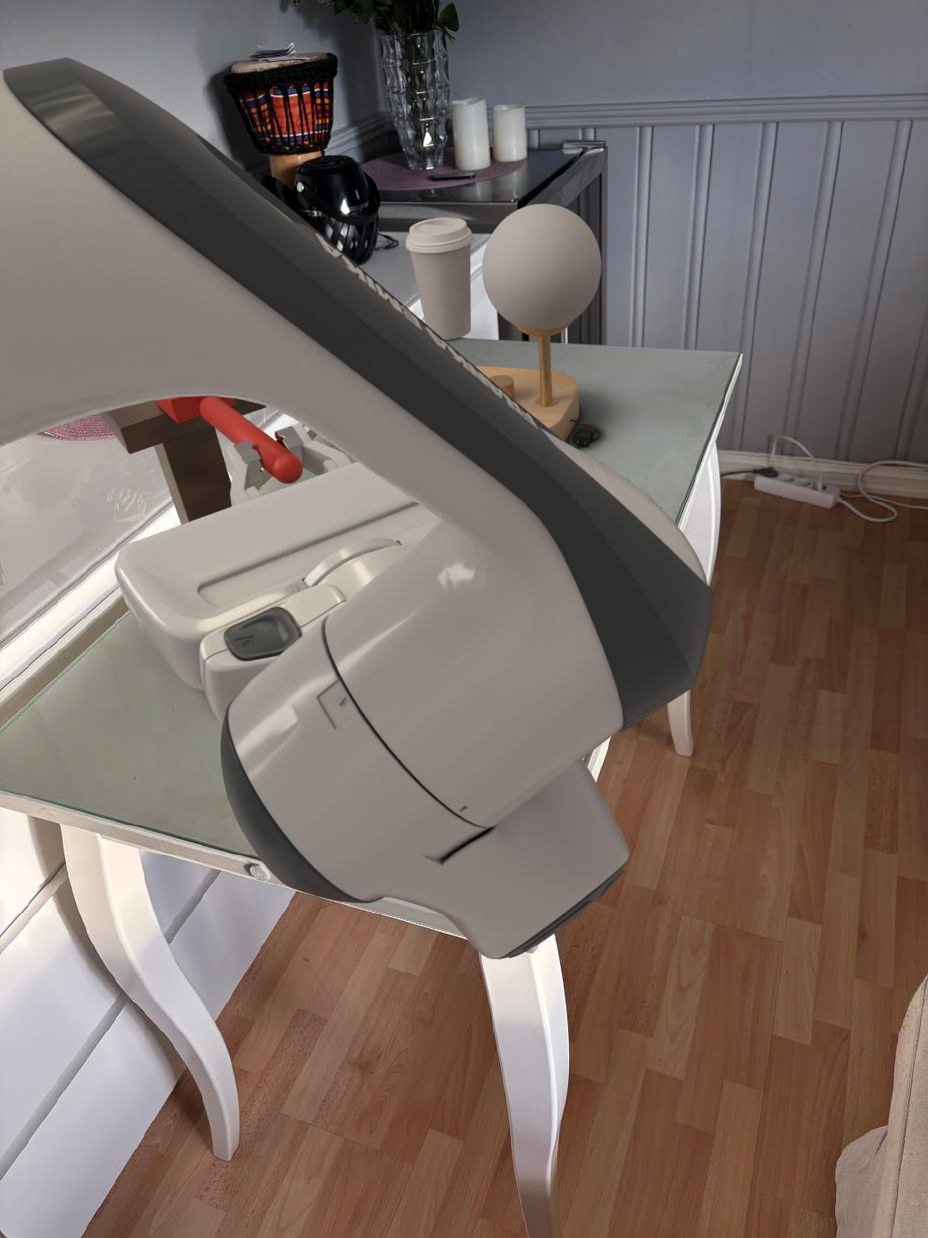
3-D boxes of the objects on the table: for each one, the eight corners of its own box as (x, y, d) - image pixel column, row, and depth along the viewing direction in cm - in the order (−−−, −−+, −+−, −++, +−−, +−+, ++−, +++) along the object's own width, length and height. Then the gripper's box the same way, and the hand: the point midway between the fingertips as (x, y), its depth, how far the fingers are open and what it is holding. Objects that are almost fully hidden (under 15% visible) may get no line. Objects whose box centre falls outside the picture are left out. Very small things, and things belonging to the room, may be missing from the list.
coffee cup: (493, 331, 133) (485, 224, 124) (437, 349, 130) (424, 241, 121) (460, 313, 140) (450, 211, 131) (406, 331, 137) (391, 227, 127)
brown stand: (223, 710, 76) (119, 427, 59) (177, 637, 84) (75, 372, 68) (330, 660, 79) (260, 381, 63) (276, 595, 88) (202, 333, 71)
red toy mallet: (331, 473, 48) (324, 446, 47) (261, 500, 47) (253, 472, 46) (212, 386, 63) (205, 364, 62) (156, 404, 62) (149, 381, 61)
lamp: (316, 446, 111) (269, 230, 95) (374, 385, 123) (341, 184, 107) (583, 471, 100) (580, 233, 84) (616, 401, 112) (619, 181, 97)
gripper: (567, 516, 46) (428, 346, 51) (175, 684, 38) (63, 462, 44) (543, 589, 51) (419, 427, 57) (194, 749, 43) (92, 543, 49)
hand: (261, 443), depth 50 cm, fingers closed on red toy mallet, 2 cm apart
